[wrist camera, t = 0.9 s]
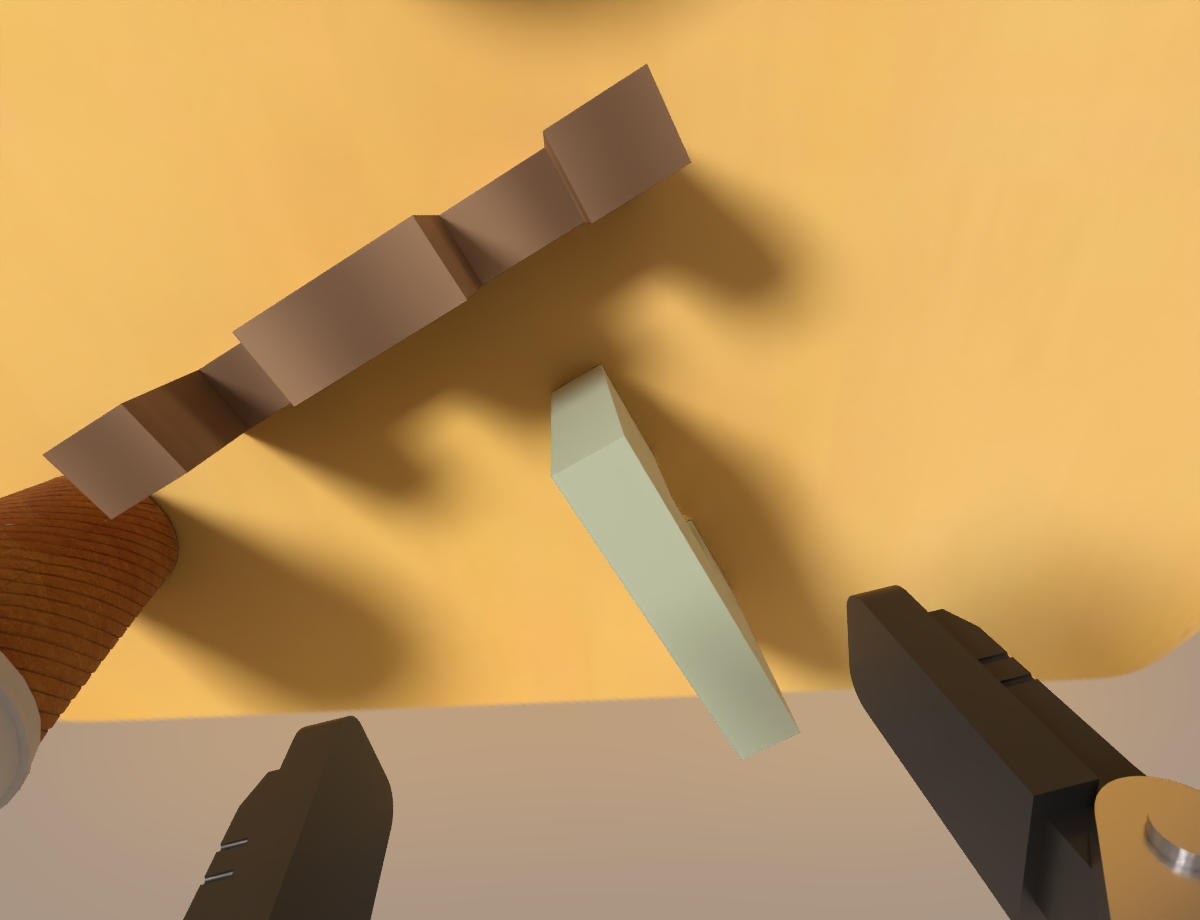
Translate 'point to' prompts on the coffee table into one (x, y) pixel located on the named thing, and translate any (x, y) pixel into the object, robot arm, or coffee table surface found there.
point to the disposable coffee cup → (66, 603)
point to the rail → (379, 296)
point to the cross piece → (663, 561)
